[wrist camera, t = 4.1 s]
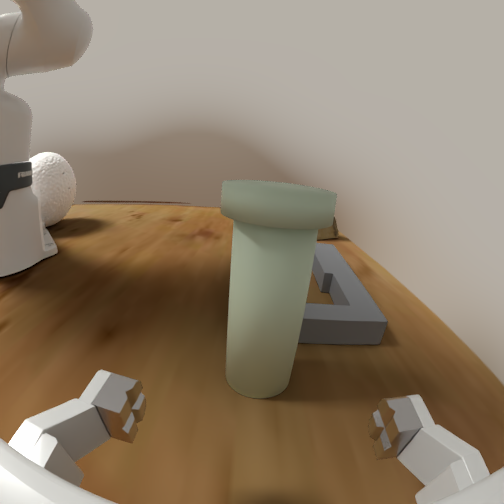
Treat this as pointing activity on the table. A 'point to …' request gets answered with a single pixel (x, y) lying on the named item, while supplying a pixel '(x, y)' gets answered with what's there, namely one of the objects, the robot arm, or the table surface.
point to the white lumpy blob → (53, 186)
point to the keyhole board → (340, 305)
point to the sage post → (269, 277)
